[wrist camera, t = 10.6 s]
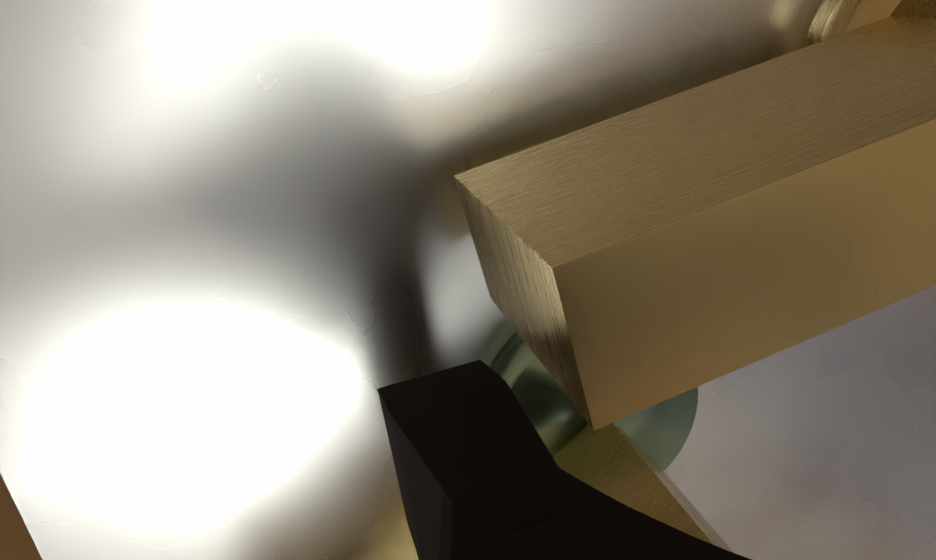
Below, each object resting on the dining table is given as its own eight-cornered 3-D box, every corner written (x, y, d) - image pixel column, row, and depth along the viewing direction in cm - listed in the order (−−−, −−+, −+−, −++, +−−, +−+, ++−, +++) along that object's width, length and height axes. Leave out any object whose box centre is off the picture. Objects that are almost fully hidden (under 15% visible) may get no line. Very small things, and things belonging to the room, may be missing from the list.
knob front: (974, -83, 10) (1360, -112, 7) (970, 117, 11) (1296, 181, 8) (420, 111, 9) (533, 196, 6) (482, 309, 10) (608, 483, 7)
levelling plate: (1007, -245, 10) (1146, -284, 9) (905, 569, 17) (977, 633, 15) (-218, -92, 8) (-342, -110, 6) (204, 825, 14) (199, 939, 12)
